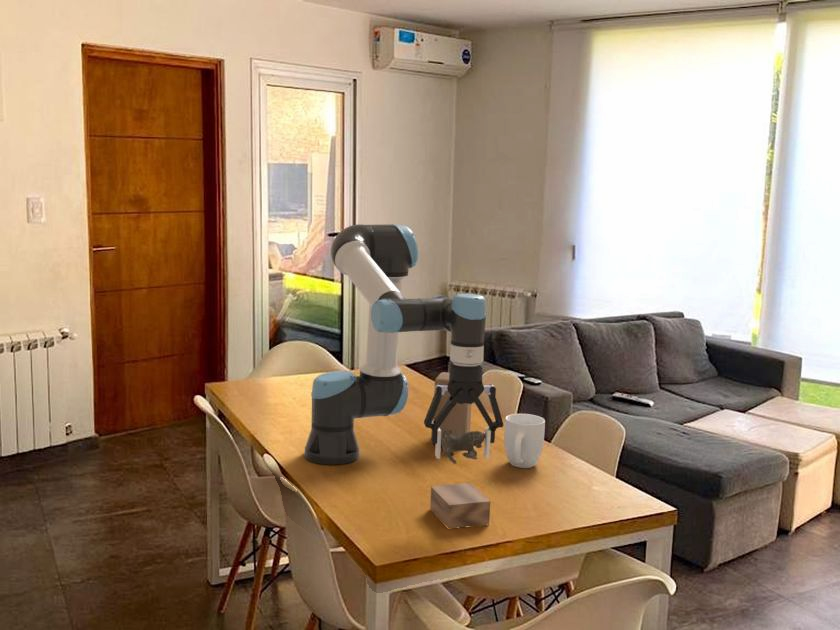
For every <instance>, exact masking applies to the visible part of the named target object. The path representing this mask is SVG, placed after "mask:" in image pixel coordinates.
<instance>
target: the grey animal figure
mask: <svg viewBox="0 0 840 630" xmlns="http://www.w3.org/2000/svg"><path fill="white" fill-rule="evenodd" d="M448 431H449V432H448ZM446 432H448V433H446ZM445 433H446V434H445ZM451 434H452V431H451V430H450V429H447V430H444V431H443V432H442V434H441V436H442V438H441V447H442V450H443V451H442V456H446V457H447V458H448V460H449V461H450V462H452V464H453V465H456V464H457V460H455V458H454V457H453V456H455V454H454V452H462V451H464V452H463V453H462V456H463V457H465V458H467V459H472V460H478V457H477V455H478V452H477V451H476V450H475V448H477V449H481V448H482V447H483V445H482V444H483V443H484V441H485V432H481V431H479V430H472V431H471V430H470V432H467V433H463V434H461V435H459V436H452V435H451ZM474 447H475V448H474ZM452 451H453V452H452ZM465 451H466V452H465Z"/></svg>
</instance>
